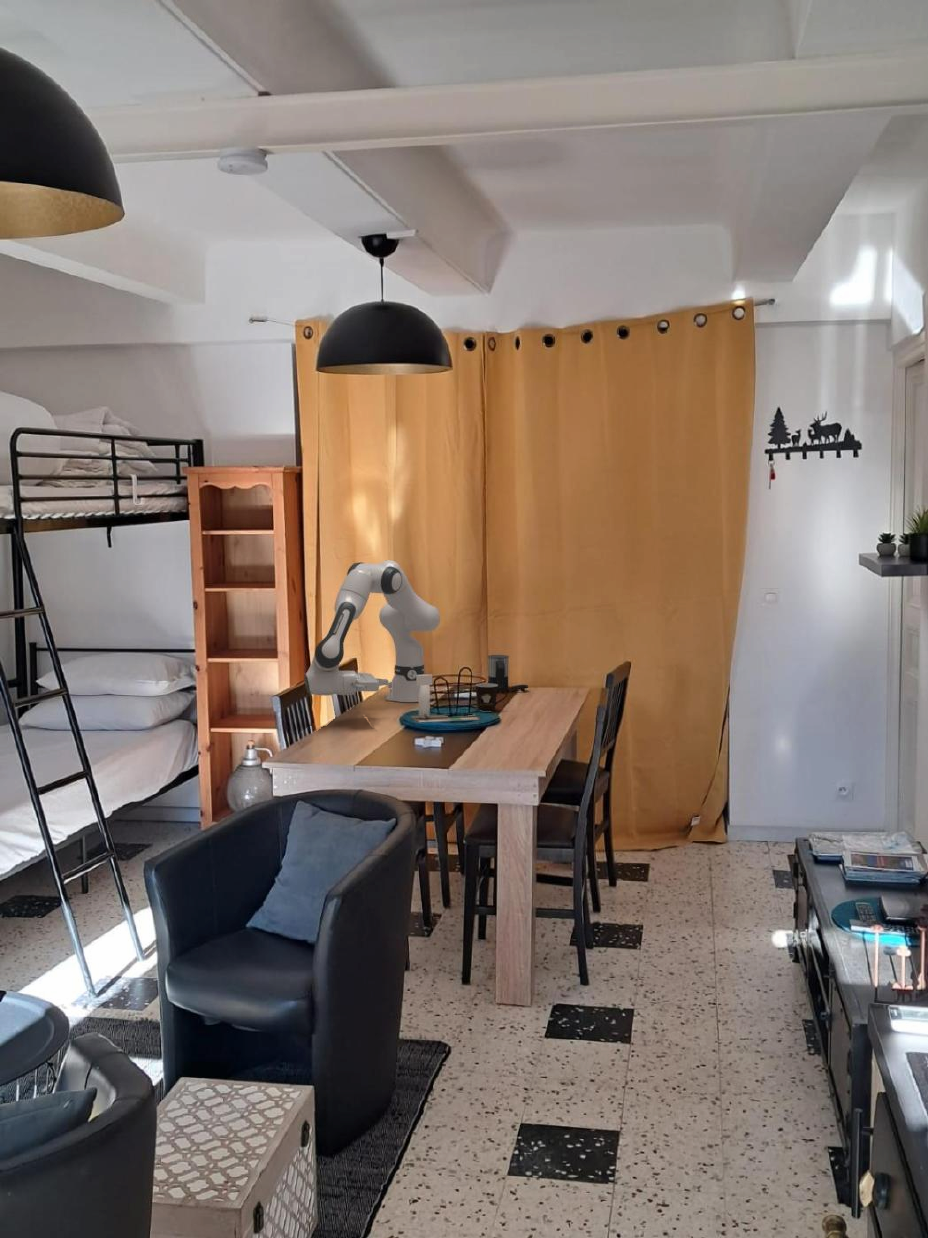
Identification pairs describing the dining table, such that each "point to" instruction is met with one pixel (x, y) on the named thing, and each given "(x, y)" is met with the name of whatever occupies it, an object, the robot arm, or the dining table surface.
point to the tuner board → (445, 718)
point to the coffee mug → (487, 696)
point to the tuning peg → (424, 694)
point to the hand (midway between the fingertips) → (387, 682)
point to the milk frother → (500, 673)
